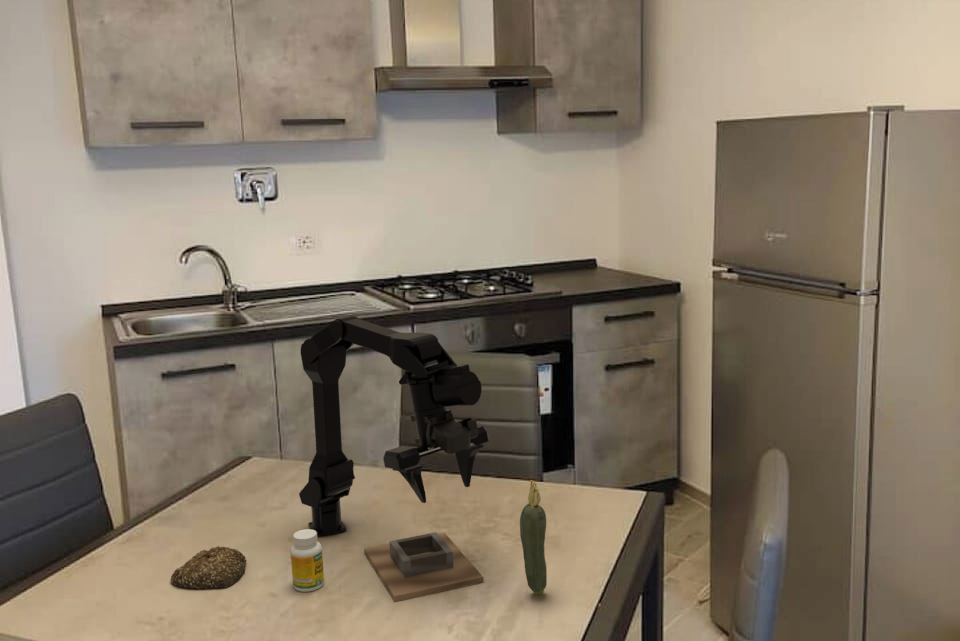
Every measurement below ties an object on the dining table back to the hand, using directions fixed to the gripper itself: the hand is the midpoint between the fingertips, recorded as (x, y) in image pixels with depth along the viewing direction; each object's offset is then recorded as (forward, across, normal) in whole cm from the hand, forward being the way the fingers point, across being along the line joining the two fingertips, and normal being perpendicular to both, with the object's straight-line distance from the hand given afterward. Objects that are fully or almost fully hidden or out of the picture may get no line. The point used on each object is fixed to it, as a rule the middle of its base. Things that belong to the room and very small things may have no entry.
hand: (446, 494), depth 152 cm
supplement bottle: (+11, -22, +15) cm, 29 cm away
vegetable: (+18, +6, -13) cm, 23 cm away
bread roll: (+8, -34, +30) cm, 46 cm away
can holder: (+13, -3, +8) cm, 16 cm away
